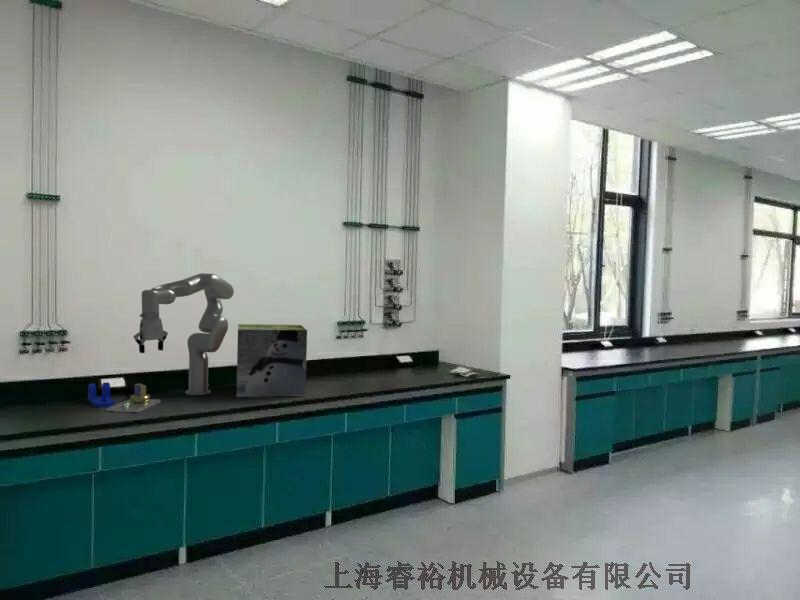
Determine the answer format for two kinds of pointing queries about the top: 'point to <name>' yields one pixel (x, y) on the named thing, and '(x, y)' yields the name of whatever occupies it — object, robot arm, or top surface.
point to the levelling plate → (132, 406)
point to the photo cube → (271, 360)
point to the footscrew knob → (140, 394)
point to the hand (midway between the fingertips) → (151, 351)
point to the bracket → (100, 400)
